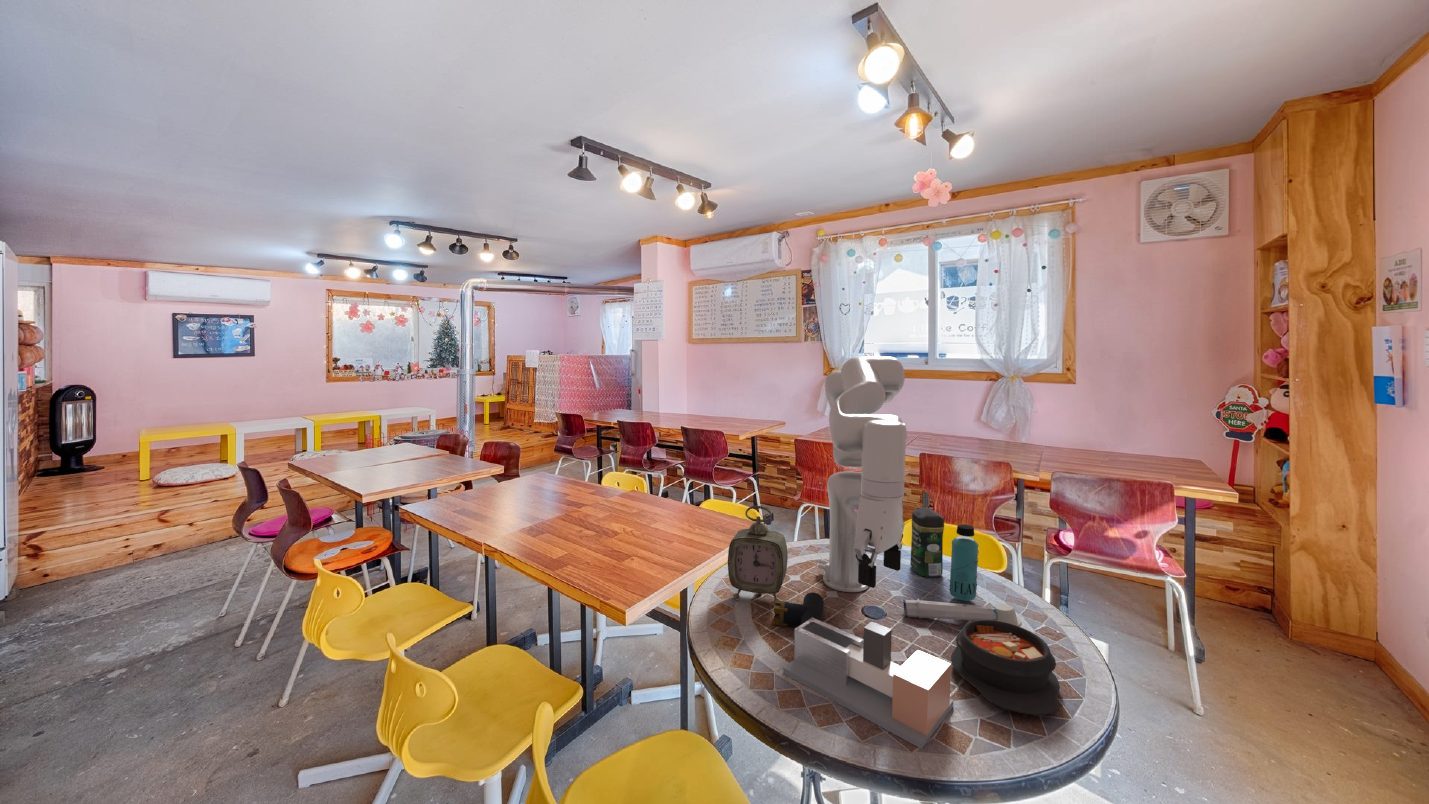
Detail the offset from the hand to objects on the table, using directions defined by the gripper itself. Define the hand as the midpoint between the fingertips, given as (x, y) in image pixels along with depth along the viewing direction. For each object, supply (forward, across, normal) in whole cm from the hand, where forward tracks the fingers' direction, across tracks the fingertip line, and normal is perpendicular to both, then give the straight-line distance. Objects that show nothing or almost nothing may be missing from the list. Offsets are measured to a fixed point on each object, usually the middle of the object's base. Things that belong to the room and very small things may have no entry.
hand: (879, 576), depth 94 cm
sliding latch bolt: (+20, +2, +2) cm, 20 cm away
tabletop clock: (+23, -12, -40) cm, 48 cm away
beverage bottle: (+23, -48, -1) cm, 54 cm away
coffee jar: (+23, -59, -15) cm, 65 cm away
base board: (+22, +2, -2) cm, 23 cm away
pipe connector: (+23, -9, -24) cm, 35 cm away
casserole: (+23, -20, +16) cm, 35 cm away
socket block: (+21, +2, +9) cm, 23 cm away
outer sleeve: (+21, +2, -10) cm, 24 cm away
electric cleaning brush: (+23, -36, +3) cm, 43 cm away
